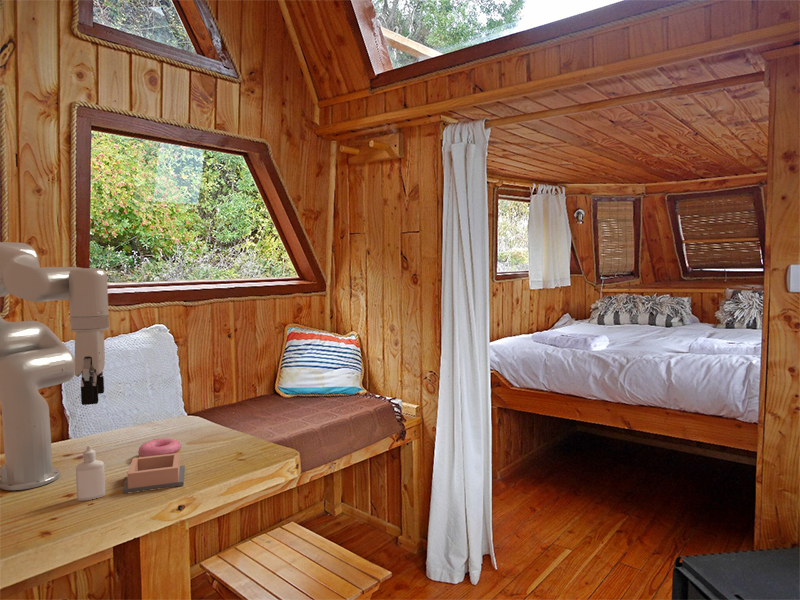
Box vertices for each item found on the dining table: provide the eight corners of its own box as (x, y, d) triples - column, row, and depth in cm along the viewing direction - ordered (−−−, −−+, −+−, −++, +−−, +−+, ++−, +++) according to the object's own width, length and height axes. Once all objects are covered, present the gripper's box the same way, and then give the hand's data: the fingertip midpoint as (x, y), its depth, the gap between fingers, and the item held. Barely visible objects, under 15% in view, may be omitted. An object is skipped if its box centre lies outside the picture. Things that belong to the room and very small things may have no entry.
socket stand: (122, 493, 129) (122, 474, 128) (128, 476, 139) (128, 458, 139) (183, 485, 133) (182, 467, 133) (184, 469, 143) (184, 452, 143)
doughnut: (150, 449, 158) (149, 435, 158) (188, 450, 158) (187, 435, 158) (130, 464, 148) (129, 448, 147) (171, 464, 147) (170, 449, 147)
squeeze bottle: (98, 501, 125) (95, 448, 124) (73, 501, 125) (70, 449, 124) (109, 493, 129) (106, 442, 128) (84, 493, 129) (82, 442, 128)
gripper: (77, 320, 132) (80, 391, 133) (63, 329, 115) (67, 410, 117) (113, 318, 134) (116, 388, 136) (103, 327, 118) (107, 406, 120)
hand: (93, 398), depth 126 cm, fingers open, 9 cm apart
